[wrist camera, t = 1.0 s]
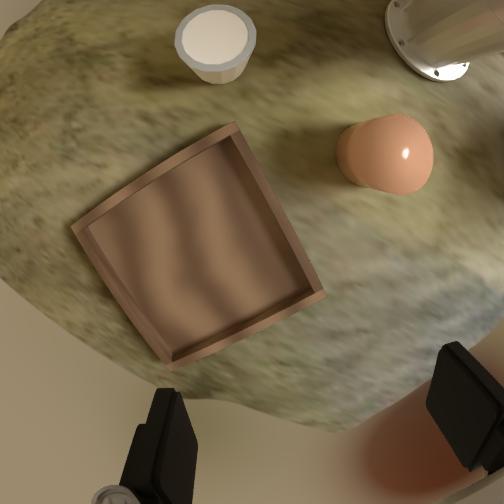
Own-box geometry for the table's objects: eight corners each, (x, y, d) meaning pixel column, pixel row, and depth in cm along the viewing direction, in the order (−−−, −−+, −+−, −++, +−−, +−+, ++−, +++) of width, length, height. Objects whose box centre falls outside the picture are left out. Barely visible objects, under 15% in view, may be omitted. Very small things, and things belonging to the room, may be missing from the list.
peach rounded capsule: (377, 113, 30) (414, 103, 23) (403, 170, 32) (443, 175, 24) (324, 138, 31) (350, 132, 23) (353, 197, 33) (384, 208, 25)
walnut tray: (234, 123, 30) (234, 120, 28) (321, 287, 35) (327, 296, 33) (80, 221, 32) (70, 226, 30) (173, 359, 37) (170, 371, 35)
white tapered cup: (178, 83, 29) (163, 65, 22) (196, 27, 27) (187, -2, 20) (243, 96, 29) (245, 79, 23) (260, 39, 28) (265, 11, 21)
